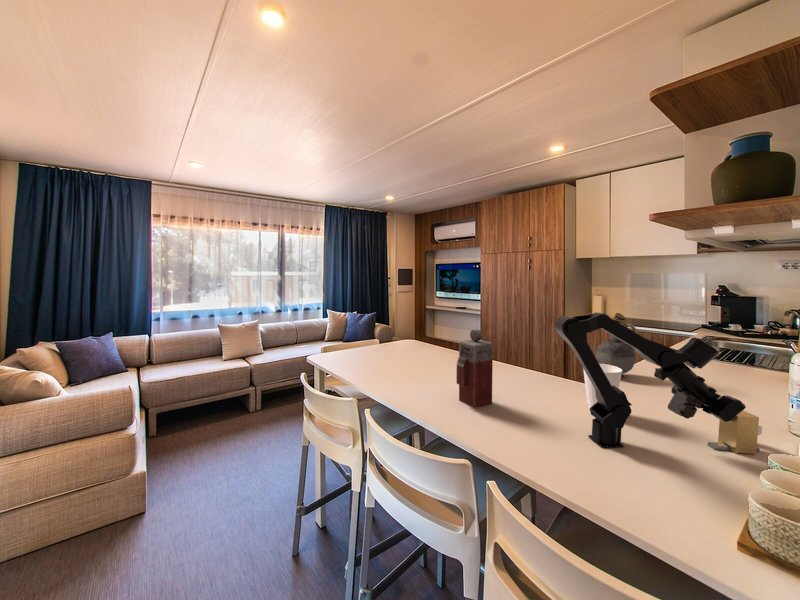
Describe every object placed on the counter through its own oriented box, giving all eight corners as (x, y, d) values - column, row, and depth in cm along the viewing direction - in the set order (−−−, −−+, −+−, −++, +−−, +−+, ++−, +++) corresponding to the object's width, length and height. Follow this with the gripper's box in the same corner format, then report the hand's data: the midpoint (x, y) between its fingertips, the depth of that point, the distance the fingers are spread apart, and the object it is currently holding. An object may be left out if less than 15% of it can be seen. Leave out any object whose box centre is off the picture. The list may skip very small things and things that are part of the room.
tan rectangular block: (735, 452, 89) (737, 416, 88) (718, 442, 94) (720, 408, 94) (756, 453, 88) (759, 417, 88) (737, 443, 94) (740, 408, 93)
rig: (714, 449, 91) (715, 428, 90) (690, 434, 100) (691, 414, 99) (769, 452, 89) (770, 430, 89) (740, 436, 98) (741, 416, 98)
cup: (584, 416, 113) (585, 370, 111) (578, 403, 124) (579, 361, 122) (625, 421, 108) (627, 374, 107) (615, 408, 120) (617, 364, 118)
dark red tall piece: (453, 401, 127) (454, 329, 125) (476, 396, 133) (476, 326, 130) (469, 409, 119) (469, 332, 117) (492, 403, 125) (493, 330, 123)
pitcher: (591, 374, 160) (593, 312, 158) (624, 371, 164) (626, 311, 162) (609, 381, 150) (612, 315, 147) (644, 377, 154) (647, 313, 151)
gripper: (641, 387, 102) (679, 423, 101) (686, 412, 84) (732, 456, 83) (670, 363, 100) (709, 399, 100) (722, 382, 82) (770, 427, 81)
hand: (727, 419), depth 91 cm, fingers closed
